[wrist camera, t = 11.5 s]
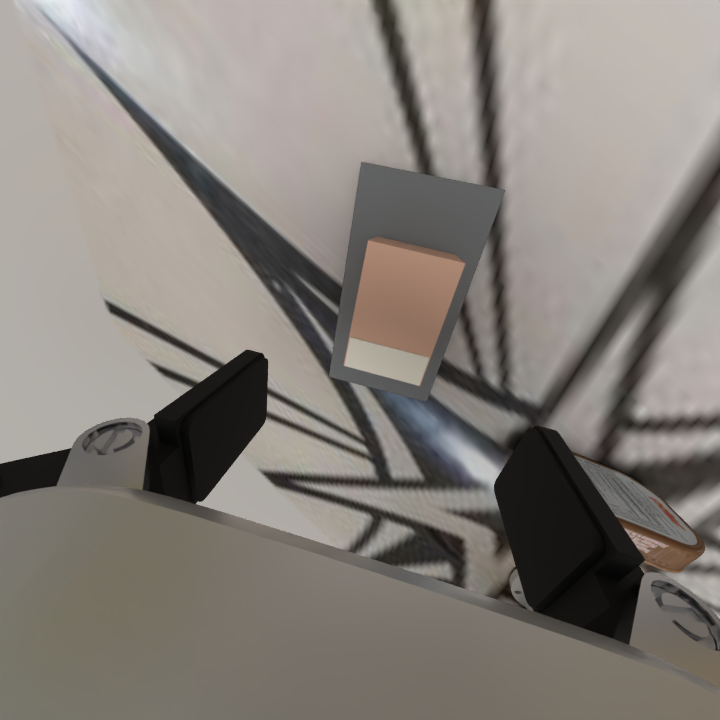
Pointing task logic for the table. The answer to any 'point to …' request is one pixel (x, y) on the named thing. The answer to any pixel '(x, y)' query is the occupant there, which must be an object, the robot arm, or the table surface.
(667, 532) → the tin
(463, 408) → the table surface
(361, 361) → the block
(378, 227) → the mat
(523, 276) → the table surface
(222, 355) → the table surface
